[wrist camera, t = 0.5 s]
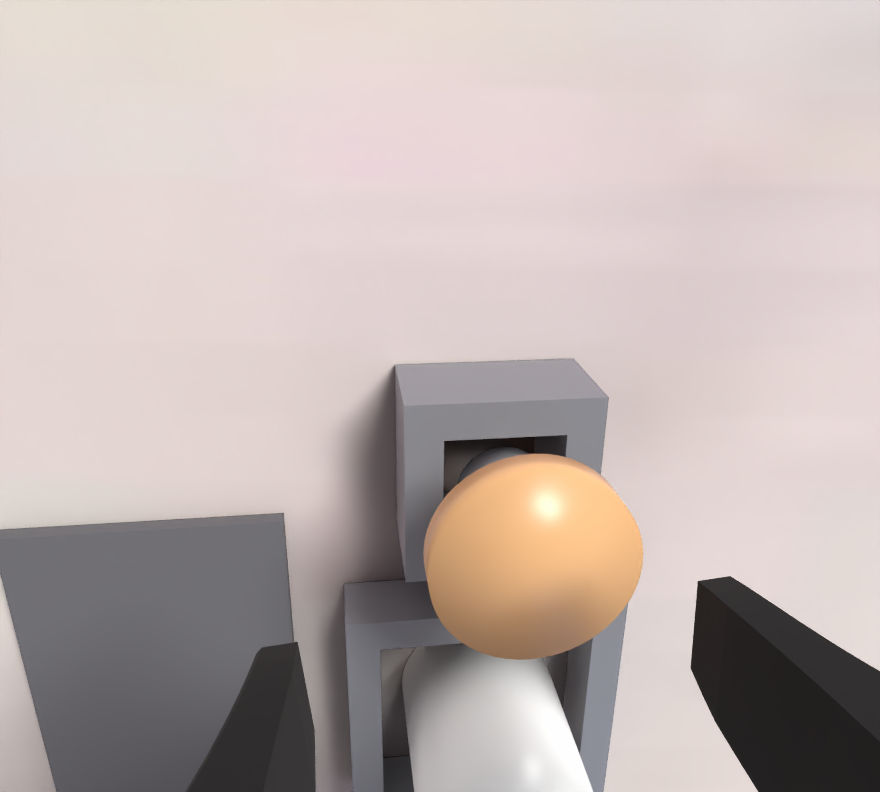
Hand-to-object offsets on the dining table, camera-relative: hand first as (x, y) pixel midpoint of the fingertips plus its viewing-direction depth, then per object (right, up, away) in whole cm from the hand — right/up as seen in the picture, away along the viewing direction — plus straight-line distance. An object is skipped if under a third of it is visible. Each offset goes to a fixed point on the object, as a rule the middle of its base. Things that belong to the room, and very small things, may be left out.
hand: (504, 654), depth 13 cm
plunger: (0, +2, +7) cm, 7 cm away
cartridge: (0, -5, +12) cm, 14 cm away
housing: (0, -1, +11) cm, 11 cm away
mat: (-10, -5, +11) cm, 15 cm away
